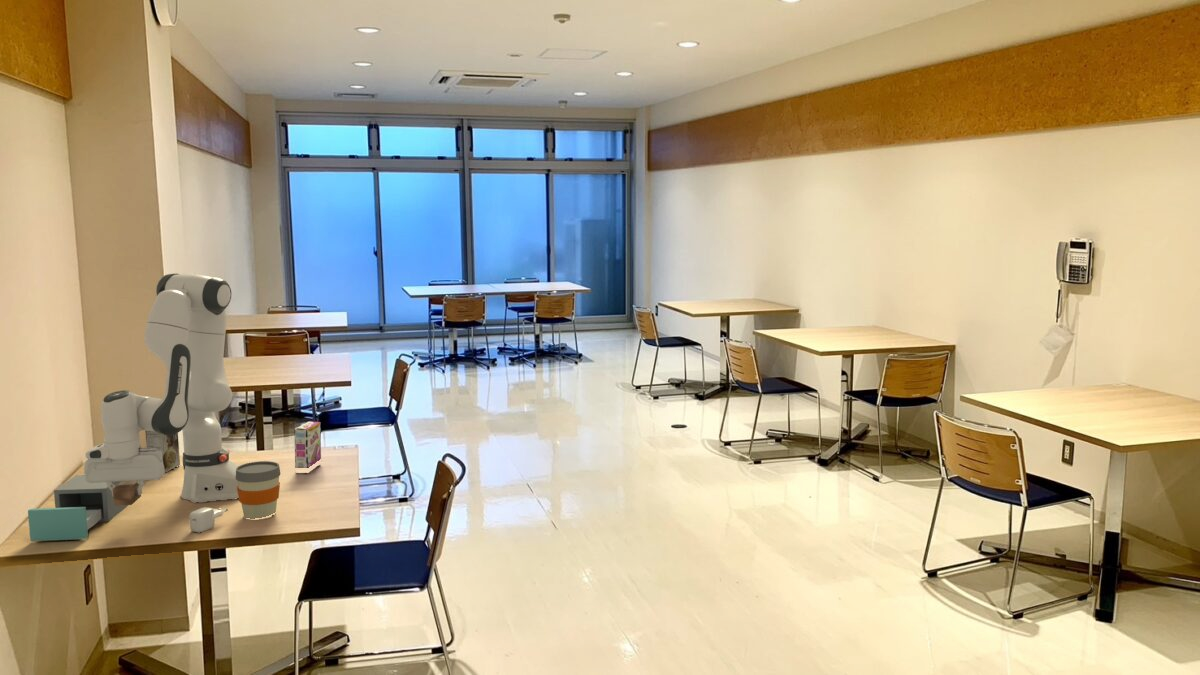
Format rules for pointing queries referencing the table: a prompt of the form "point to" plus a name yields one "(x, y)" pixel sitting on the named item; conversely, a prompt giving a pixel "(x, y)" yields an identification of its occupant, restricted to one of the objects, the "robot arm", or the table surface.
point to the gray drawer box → (87, 497)
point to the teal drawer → (61, 523)
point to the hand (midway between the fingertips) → (127, 495)
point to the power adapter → (204, 518)
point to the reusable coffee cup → (258, 488)
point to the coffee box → (165, 448)
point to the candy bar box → (307, 444)
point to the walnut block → (125, 493)
